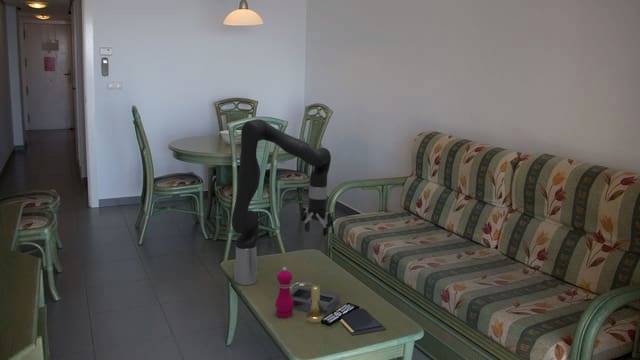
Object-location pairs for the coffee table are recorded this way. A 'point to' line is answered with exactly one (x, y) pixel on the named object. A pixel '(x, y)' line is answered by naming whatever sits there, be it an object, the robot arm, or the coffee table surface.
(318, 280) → the coffee table surface
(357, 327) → the wallet
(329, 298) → the keyhole plate
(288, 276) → the pepper mill
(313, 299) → the bolt
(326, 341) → the coffee table surface
